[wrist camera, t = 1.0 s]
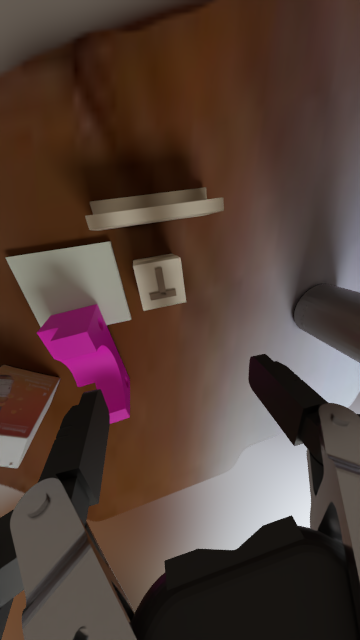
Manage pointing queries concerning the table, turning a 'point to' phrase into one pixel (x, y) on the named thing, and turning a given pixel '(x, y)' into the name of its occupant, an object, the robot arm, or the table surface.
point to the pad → (72, 281)
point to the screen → (151, 208)
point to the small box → (21, 410)
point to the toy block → (89, 355)
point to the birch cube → (159, 281)
